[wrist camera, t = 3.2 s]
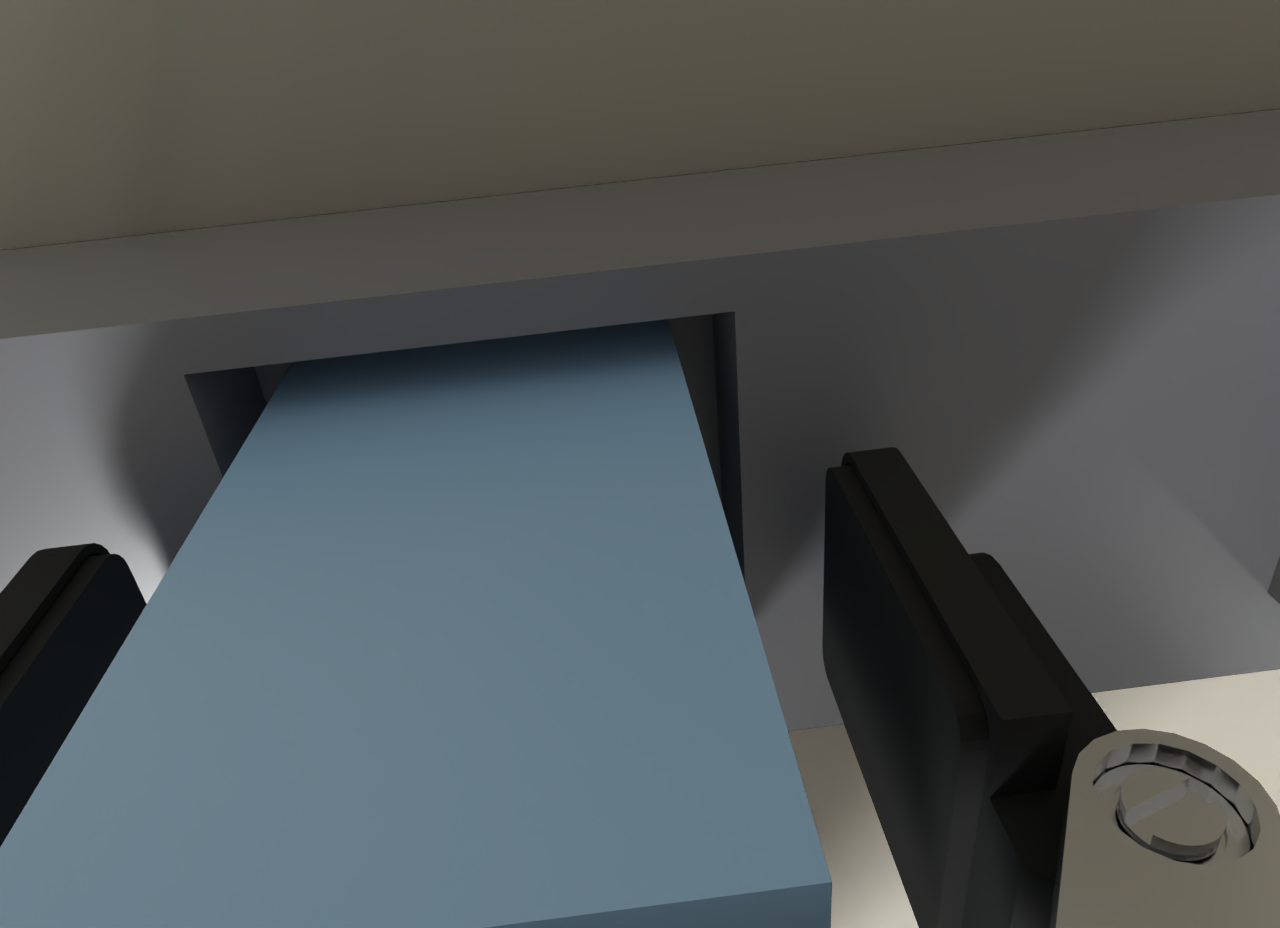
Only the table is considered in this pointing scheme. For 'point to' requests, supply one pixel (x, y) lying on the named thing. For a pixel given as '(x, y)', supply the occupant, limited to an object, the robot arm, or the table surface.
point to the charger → (441, 673)
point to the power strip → (760, 366)
